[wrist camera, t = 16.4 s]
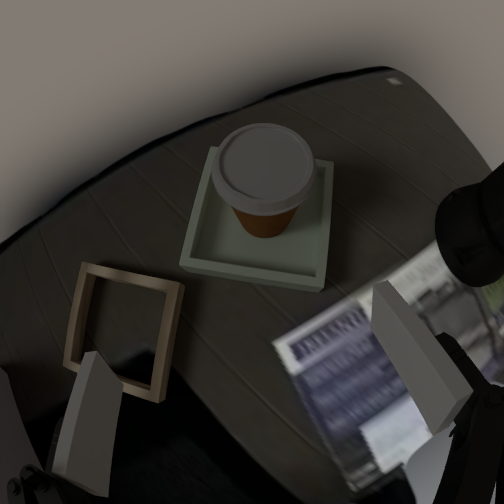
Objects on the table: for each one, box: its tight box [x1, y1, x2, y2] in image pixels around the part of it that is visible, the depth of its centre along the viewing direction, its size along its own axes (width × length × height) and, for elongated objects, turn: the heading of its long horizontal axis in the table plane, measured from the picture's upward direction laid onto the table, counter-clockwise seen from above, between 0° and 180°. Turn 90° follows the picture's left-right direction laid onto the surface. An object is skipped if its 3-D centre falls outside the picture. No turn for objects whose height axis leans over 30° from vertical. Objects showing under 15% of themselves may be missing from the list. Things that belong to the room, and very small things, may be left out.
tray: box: [179, 147, 334, 292], centre depth 35 cm, size 16×16×4 cm
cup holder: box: [63, 262, 185, 403], centre depth 32 cm, size 14×14×2 cm
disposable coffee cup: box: [211, 123, 317, 238], centre depth 30 cm, size 10×10×12 cm
